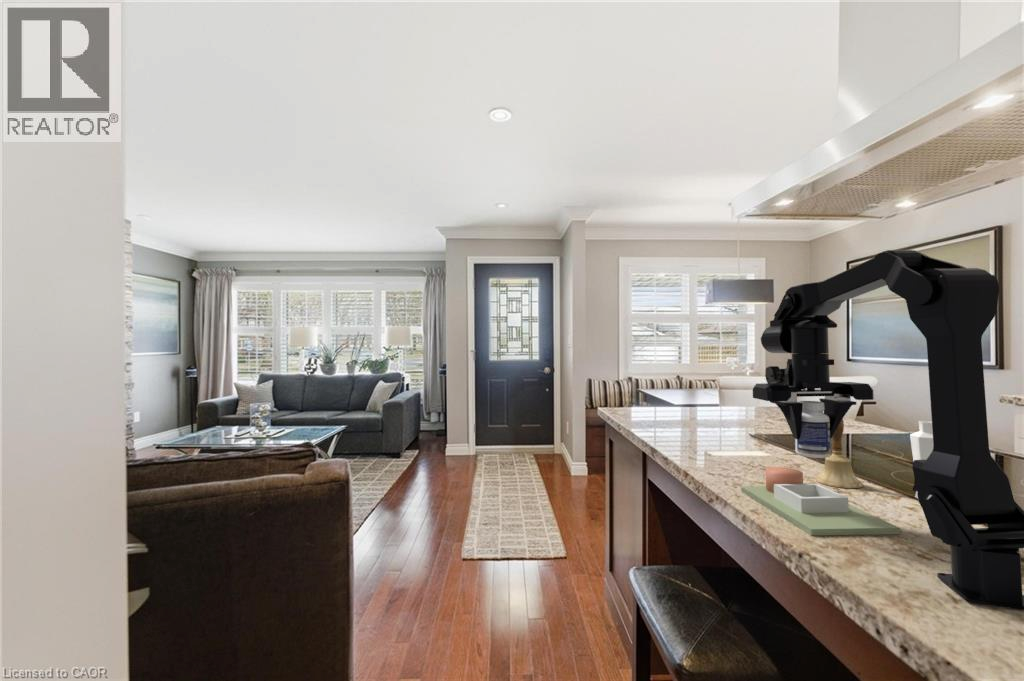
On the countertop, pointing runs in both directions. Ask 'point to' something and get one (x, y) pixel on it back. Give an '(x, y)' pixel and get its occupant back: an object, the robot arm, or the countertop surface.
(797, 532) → the countertop surface
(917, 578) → the countertop surface
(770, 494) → the green board with tray
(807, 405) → the pill bottle
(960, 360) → the robot arm
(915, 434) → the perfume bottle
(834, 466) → the hand bell
